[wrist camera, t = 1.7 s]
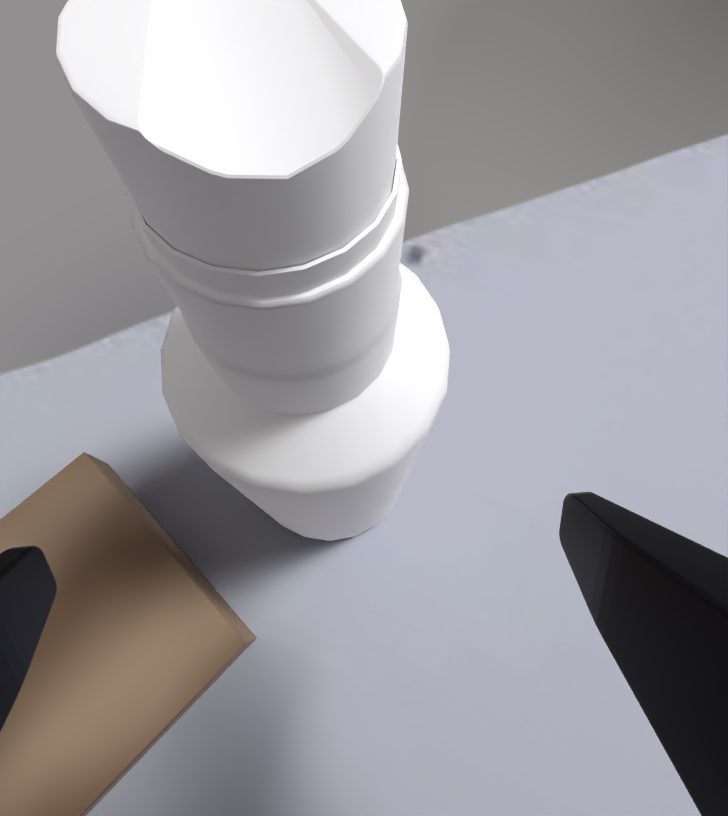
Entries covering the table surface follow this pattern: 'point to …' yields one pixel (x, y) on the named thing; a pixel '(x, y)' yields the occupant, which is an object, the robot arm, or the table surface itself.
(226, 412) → the spray bottle
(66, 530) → the brown flat square block
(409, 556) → the table surface
